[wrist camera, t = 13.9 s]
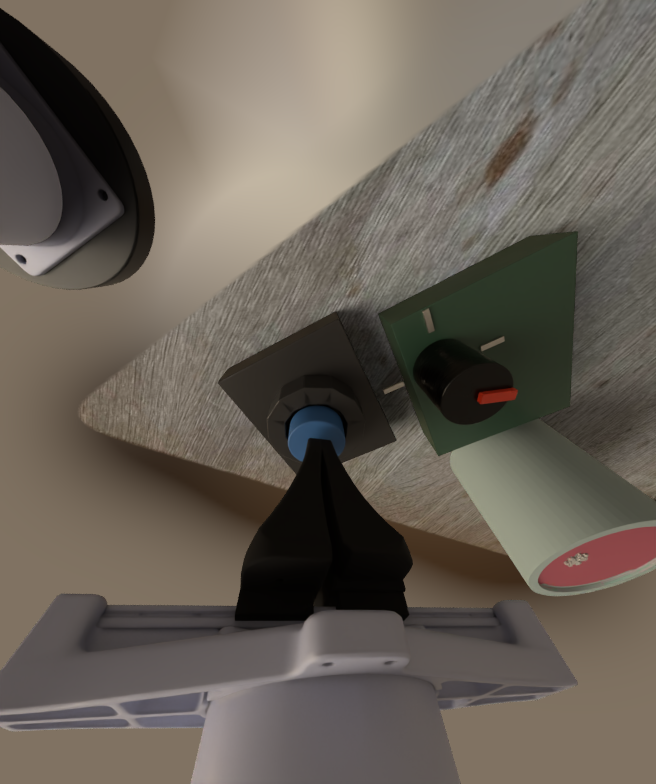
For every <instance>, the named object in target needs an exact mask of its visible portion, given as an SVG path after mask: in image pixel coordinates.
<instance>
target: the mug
mask: <svg viewBox="0 0 656 784" xmlns="http://www.w3.org/2000/svg"><path fill="white" fill-rule="evenodd" d="M450 465H451V469H452V471H453V472H454V474H455V475H456V477H457V478H458V480H459V481H460V483H461V484H462V486H463V487H464V489H465V490H466V492H467V493H468V495H469V496H470V498H471V499H472V501H473V502H474V504H475V505H476V507H477V508H478V510H479V512H480V513H481V515H482V516H483V518H484V519H485V521H486V522H487V524H488V525H489V527H490V528H491V530H492V531H493V533H494V534H495V536H496V537H497V539H498V540H499V542H500V543H501V545H502V546H503V548H504V549H505V551H506V552H507V554H508V555H509V557H510V558H511V560H512V561H513V563H514V564H515V566H516V567H517V569H518V571H519V572H520V574H521V575H522V576H523V578H524V580H525V581H526V582H527V584H528V586H529V587H530V588H531V590H533V591H534V592H536V593H539V594H542V595H549V596H568V595H577V594H583V593H588V592H593V591H597V590H601V589H605V588H608V587H612V586H615V585H618V584H621V583H624V582H627V581H629V580H632V579H634V578H637V577H639V576H641V575H644V574H646V573H648V572H650V571H652V570H654V569H656V501H654V500H653V499H652V498H650V497H649V496H647V495H646V494H644V493H643V492H642V491H640V490H639V489H637V488H636V487H635V486H633V485H632V484H630V483H629V482H628V481H626V480H625V479H623V478H622V477H620V476H619V475H618V474H616V473H615V472H613V471H612V470H611V469H609V468H608V467H606V466H605V465H604V464H602V463H601V462H599V461H598V460H596V459H595V458H594V457H592V456H591V455H589V454H588V453H587V452H585V451H584V450H582V449H581V448H580V447H578V446H577V445H575V444H574V443H572V442H571V441H570V440H568V439H567V438H565V437H564V436H563V435H561V434H560V433H558V432H557V431H556V430H554V429H553V428H551V427H550V426H548V425H547V424H546V423H544V422H543V421H541V420H540V419H539V418H538V419H535V420H533V421H530V422H527V423H525V424H522V425H520V426H517V427H514V428H512V429H509V430H506V431H504V432H501V433H498V434H496V435H493V436H490V437H488V438H485V439H482V440H480V441H477V442H475V443H472V444H469V445H467V446H464V447H461V448H459V449H456V450H453V451H452V453H451V457H450Z"/></svg>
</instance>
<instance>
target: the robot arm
mask: <svg viewBox="0 0 656 784" xmlns="http://www.w3.org/2000/svg"><path fill="white" fill-rule="evenodd" d="M104 191H105V192H106V193H107V195H108V199H107V201H106V200H105V199H104V197H103V192H104ZM123 214H124V206H123V204H122V202H121V201H120V199H119V198H118V197H117V195H116V194H115V193H114V191H113V190H112V189H111V187H110V186H109V185H108V183H107V182H106V181H105V179H104V178H103V177H102V175H101V174H100V173H99V172H98V170H97V169H96V168H95V166H94V165H93V164H92V162H91V161H90V160H89V158H88V157H87V156H86V154H85V153H84V152H83V150H82V149H81V148H80V146H79V145H78V144H77V142H76V141H75V140H74V138H73V137H72V136H71V134H70V133H69V132H68V131H67V129H66V128H65V127H64V125H63V124H62V123H61V121H60V120H59V119H58V117H57V116H56V115H55V113H54V112H53V111H52V109H51V108H50V107H49V105H48V104H47V103H46V101H45V100H44V99H43V97H42V96H41V95H40V93H39V92H38V91H37V89H36V88H35V87H34V86H33V84H32V83H31V82H30V80H29V79H28V78H27V76H26V75H25V74H24V72H23V71H22V70H21V68H20V67H19V66H18V64H17V63H16V62H15V60H14V59H13V58H12V56H11V55H10V54H9V52H8V51H7V50H6V48H5V47H4V46H3V45H2V43H1V42H0V248H1V249H2V250H3V251H4V252H5V253H7V254H8V255H9V256H10V257H11V258H12V259H13V260H14V261H15V262H16V263H17V264H18V265H19V266H20V267H21V268H22V269H23V270H24V271H26V272H27V273H28V274H30V275H32V276H42V275H44V274H45V273H47V272H48V271H49V270H50V269H52V268H53V267H54V266H56V265H57V264H58V263H60V262H61V261H62V260H64V259H65V258H66V257H68V256H69V255H70V254H72V253H73V252H74V251H76V250H77V249H78V248H80V247H81V246H82V245H84V244H85V243H86V242H88V241H89V240H90V239H92V238H93V237H94V236H96V235H97V234H98V233H100V232H101V231H102V230H104V229H105V228H106V227H108V226H109V225H110V224H112V223H113V222H114V221H116V220H117V219H118V218H120V217H121V216H122V215H123ZM23 256H24V257H25V259H26V261H27V262H25V260H24V259H23ZM412 565H413V562H412V558H411V555H410V552H409V549H408V546H407V544H406V542H405V540H404V537H403V536H402V535H400V534H399V533H398V532H397V531H396V530H395V529H394V528H393V527H391V526H390V525H389V524H388V523H387V522H386V521H385V520H384V519H383V518H382V517H381V516H380V515H379V514H378V513H377V512H376V511H375V510H374V509H373V507H372V506H371V505H370V504H369V503H368V502H367V501H366V499H365V498H364V497H363V496H362V494H361V493H360V492H359V490H358V489H357V488H356V486H355V485H354V483H353V482H352V480H351V478H350V477H349V475H348V474H347V472H346V470H345V468H344V467H343V465H342V463H341V461H340V459H339V457H338V455H337V453H336V451H335V449H334V446H333V444H332V442H331V440H325V439H317V438H309V439H308V442H307V447H306V451H305V456H304V459H303V462H302V464H301V466H300V468H299V471H298V473H297V475H296V477H295V479H294V480H293V482H292V484H291V486H290V487H289V489H288V491H287V492H286V494H285V495H284V497H283V498H282V500H281V501H280V503H279V504H278V505H277V507H276V508H275V509H274V511H273V512H272V513H271V515H270V516H269V517H268V518H267V519H266V521H265V522H264V523H263V524H262V525H261V526H260V528H259V529H258V531H257V533H256V535H255V536H254V538H253V540H252V542H251V544H250V546H249V548H248V550H247V552H246V555H245V558H244V562H243V567H242V571H241V588H240V593H239V597H238V602H237V606H177V605H175V606H174V605H107V601H106V599H105V598H104V597H103V596H100V595H96V594H60V595H58V596H57V597H56V598H55V599H54V601H53V602H52V603H51V605H50V606H49V607H48V609H47V610H46V611H45V613H44V614H43V615H42V616H41V618H40V619H39V621H38V622H37V623H36V624H35V626H34V627H33V628H32V630H31V631H30V632H29V634H28V635H27V636H26V638H25V639H24V640H23V642H22V643H21V644H20V646H19V647H18V648H17V650H16V651H15V652H14V654H13V655H12V656H11V658H10V659H9V660H8V661H7V663H6V664H5V665H4V667H3V668H2V670H1V671H0V727H1V728H4V729H7V730H10V731H32V730H53V729H82V728H83V729H89V728H203V733H202V737H201V741H200V745H199V750H198V754H197V758H196V763H195V767H194V771H193V776H192V780H191V784H461V783H460V779H459V776H458V772H457V769H456V765H455V762H454V758H453V755H452V751H451V747H450V744H449V740H448V737H447V733H446V730H445V726H444V723H443V719H442V716H441V713H440V710H447V709H454V708H463V707H471V706H479V705H488V704H496V703H506V702H517V701H530V700H538V699H541V698H544V697H547V696H549V695H552V694H555V693H557V692H560V691H563V690H566V689H568V688H571V687H574V686H576V685H577V684H578V683H577V680H576V679H575V677H574V675H573V674H572V672H571V671H570V669H569V667H568V666H567V664H566V663H565V661H564V660H563V658H562V656H561V655H560V653H559V652H558V650H557V648H556V647H555V645H554V643H553V642H552V640H551V639H550V637H549V635H548V634H547V632H546V631H545V629H544V627H543V626H542V624H541V623H540V621H539V620H538V618H537V616H536V615H535V613H534V611H533V610H532V608H531V607H530V605H529V603H528V602H527V601H525V600H503V601H500V602H498V603H497V604H495V605H494V607H493V608H423V607H422V608H421V607H415V608H414V607H413V608H412V607H407V604H406V600H405V597H404V593H403V592H405V585H404V582H403V579H404V578H405V576H406V575H407V573H408V572H409V571H410V569H411V567H412Z"/></svg>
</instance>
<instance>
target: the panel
mask: <svg viewBox="0 0 656 784" xmlns="http://www.w3.org/2000/svg"><path fill="white" fill-rule="evenodd" d="M577 241H578V232H577V231H575V232H565V233H556V234H546V235H536V236H529V237H527V238H525V239H523V240H521V241H519V242H517V243H515V244H514V245H512V246H510V247H508V248H506V249H504V250H502V251H500V252H498V253H496V254H494V255H492V256H490V257H488V258H486V259H484V260H482V261H480V262H478V263H477V264H475V265H473V266H471V267H469V268H467V269H465V270H463V271H461V272H459V273H457V274H455V275H453V276H451V277H449V278H447V279H445V280H443V281H441V282H439V283H438V284H436V285H434V286H432V287H430V288H428V289H426V290H424V291H422V292H420V293H418V294H416V295H414V296H412V297H410V298H408V299H406V300H404V301H402V302H401V303H399V304H397V305H395V306H393V307H391V308H389V309H387V310H385V311H383V312H381V313H379V314H378V315H379V317H380V320H381V323H382V325H383V328H384V331H385V333H386V336H387V338H388V341H389V344H390V346H391V349H392V352H393V354H394V357H395V359H396V362H397V365H398V367H399V370H400V372H401V375H402V378H403V380H404V382H403V381H400V382H398V383H396V384H393V385H391V386H389V387H387V388H385V389H383V391H384V394H387V393H389V392H392V391H394V390H396V389H398V388H401V387H403V386H406V388H407V391H408V393H409V396H410V399H411V401H412V404H413V407H414V409H415V412H416V414H417V417H418V420H419V422H420V425H421V427H422V430H423V433H424V434H425V436H426V437H427V439H428V441H429V442H430V444H431V445H432V447H433V448H434V450H435V451H436V453H437V455H438V456H440V455H443V454H445V453H448V452H451V451H453V450H456V449H459V448H461V447H464V446H467V445H469V444H472V443H475V442H477V441H480V440H482V439H485V438H488V437H490V436H493V435H496V434H498V433H501V432H504V431H506V430H509V429H512V428H514V427H517V426H520V425H522V424H525V423H527V422H530V421H533V420H535V419H538V418H541V417H543V416H546V415H549V414H551V413H554V412H557V411H559V410H562V409H565V408H567V407H570V397H571V375H572V352H573V330H574V308H575V285H576V263H577ZM443 339H455V340H458V341H460V342H462V343H464V344H465V345H467V346H469V347H471V348H473V349H474V350H476V351H478V352H480V353H481V354H483V355H485V356H487V357H489V358H490V359H492V360H494V361H496V362H497V363H499V364H501V365H503V366H504V367H506V368H507V369H508V370H509V371H510V372H511V374H512V376H513V380H514V387H513V388H515V389H517V390H518V393H517V395H516V398H515V400H509V401H508V402H507V403H506V404H505V406H504V407H503V408H502V409H501V410H500V411H499V412H497V413H496V414H495V415H493V416H492V417H490V418H489V419H487V420H485V421H482V422H480V423H476V424H471V425H459V424H455V423H452V422H450V421H449V420H447V419H446V418H445V417H444V416H443V415H442V413H441V412H440V411H439V410H438V409H437V407H436V406H435V405H434V404H433V403H432V401H431V400H430V399H429V398H428V397H427V395H426V394H425V393H424V392H423V391H422V389H421V388H420V387H419V386H418V385H417V383H416V382H415V380H414V377H413V367H414V363H415V361H416V359H417V357H418V356H419V354H420V353H421V352H422V351H423V350H424V349H425V348H426V347H427V346H429V345H430V344H432V343H434V342H436V341H439V340H443ZM404 383H405V385H404Z"/></svg>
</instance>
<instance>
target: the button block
mask: <svg viewBox="0 0 656 784" xmlns="http://www.w3.org/2000/svg"><path fill="white" fill-rule="evenodd" d="M218 384H219V385H220V386H221V387H222V388H223V390H224V391H225V392H226V393H227V394H228V395H229V397H230V398H231V399H232V400H233V401H234V402H235V404H236V405H237V406H238V407H239V408H240V409H241V410H242V412H243V413H244V414H245V415H246V416H247V417H248V419H249V420H250V421H251V422H252V423H253V424H254V426H255V427H256V428H257V429H258V430H259V431H260V433H261V434H262V435H263V436H264V437H265V438H266V440H267V441H268V442H269V443H270V444H271V445H272V447H273V448H274V449H275V450H276V451H277V452H278V454H279V455H280V456H281V457H282V458H283V459H284V461H285V462H286V463H287V464H288V465H289V466H290V468H291V469H292V470H293V471H294V472H295V473H296V474H297V473H298V471H299V468H300V466H301V464H302V461H300V460H298V459H297V458H295V457H294V456H293V455H292V453H291V452H290V450H289V447H288V436H289V428H290V422H291V420H292V418H293V416H294V415H295V414H296V413H297V412H298V411H300V410H301V409H303V408H305V407H308V406H314V405H320V406H325V407H328V408H331V409H332V410H334V411H335V412H336V413H337V414H338V415H339V416H340V418H341V420H342V424H343V429H344V434H345V447H344V449H343V451H342V453H341V454H340V455H339V456H338V457H339V459H340V461H341V463H343V462H345V461H348V460H350V459H353V458H355V457H358V456H360V455H363V454H365V453H368V452H370V451H373V450H375V449H378V448H380V447H383V446H385V445H387V444H390V443H392V442H395V441H396V438H395V436H394V434H393V432H392V429H391V427H390V425H389V423H388V421H387V419H386V417H385V415H384V412H383V410H382V408H381V406H380V404H379V402H378V400H377V398H376V395H375V393H374V391H373V389H372V387H371V385H370V383H369V381H368V378H367V376H366V374H365V372H364V370H363V368H362V366H361V364H360V361H359V359H358V357H357V355H356V353H355V351H354V349H353V347H352V344H351V342H350V340H349V338H348V336H347V334H346V332H345V330H344V327H343V325H342V323H341V321H340V319H339V317H338V315H337V313H336V312H334V313H332V314H330V315H328V316H326V317H324V318H322V319H321V320H319V321H317V322H315V323H313V324H311V325H309V326H307V327H306V328H304V329H302V330H300V331H298V332H296V333H294V334H292V335H291V336H289V337H287V338H285V339H283V340H281V341H279V342H277V343H276V344H274V345H272V346H270V347H268V348H266V349H264V350H262V351H261V352H259V353H257V354H255V355H253V356H251V357H249V358H247V359H246V360H244V361H242V362H240V363H238V364H236V365H234V366H233V367H231V368H229V369H227V371H226V372H225V373H224V375H223V376H222V377H221V379H220V380H219V381H218Z"/></svg>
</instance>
